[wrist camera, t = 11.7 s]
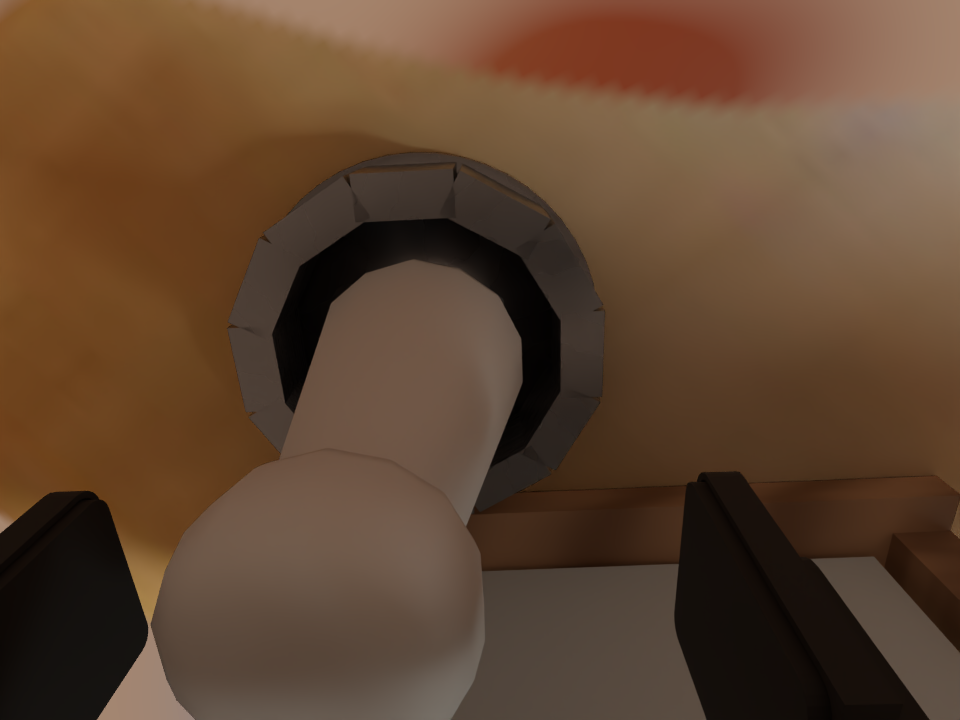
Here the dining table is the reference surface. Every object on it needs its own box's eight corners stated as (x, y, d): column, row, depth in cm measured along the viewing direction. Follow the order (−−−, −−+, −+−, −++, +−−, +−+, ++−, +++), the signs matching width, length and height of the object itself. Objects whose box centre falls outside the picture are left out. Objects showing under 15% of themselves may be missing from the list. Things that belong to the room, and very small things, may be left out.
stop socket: (600, 142, 17) (622, 147, 15) (592, 466, 22) (607, 516, 19) (226, 161, 18) (180, 169, 15) (289, 478, 22) (262, 529, 19)
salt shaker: (306, 298, 19) (-58, 596, 7) (465, 210, 18) (370, 381, 6) (401, 443, 21) (247, 892, 8) (552, 373, 19) (624, 775, 7)
